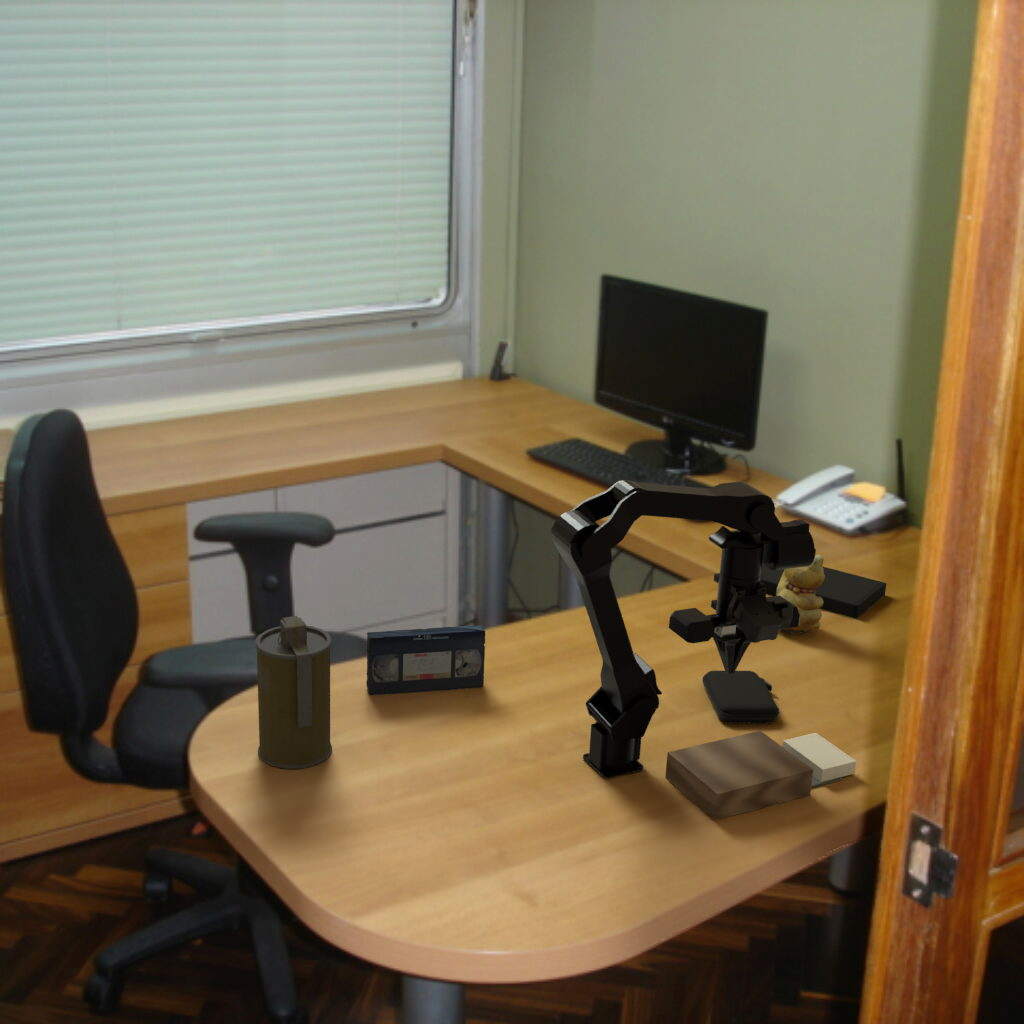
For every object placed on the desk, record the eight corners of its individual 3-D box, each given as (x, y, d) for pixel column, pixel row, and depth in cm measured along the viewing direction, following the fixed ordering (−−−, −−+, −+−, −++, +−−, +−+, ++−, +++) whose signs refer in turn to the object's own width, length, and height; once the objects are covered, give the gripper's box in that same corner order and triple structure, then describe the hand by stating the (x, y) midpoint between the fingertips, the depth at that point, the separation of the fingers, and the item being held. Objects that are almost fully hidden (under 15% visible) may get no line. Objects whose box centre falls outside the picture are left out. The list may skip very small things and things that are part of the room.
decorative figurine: (828, 634, 241) (839, 554, 236) (795, 644, 237) (805, 563, 232) (789, 614, 249) (798, 537, 244) (756, 623, 244) (764, 545, 239)
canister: (250, 739, 198) (247, 612, 191) (320, 728, 202) (319, 603, 195) (268, 776, 189) (265, 644, 182) (341, 764, 193) (341, 634, 186)
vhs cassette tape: (367, 696, 212) (368, 637, 209) (365, 687, 215) (366, 629, 212) (484, 689, 216) (486, 632, 213) (481, 681, 219) (483, 624, 216)
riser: (714, 820, 183) (717, 794, 182) (665, 777, 193) (667, 752, 192) (810, 795, 190) (813, 769, 189) (757, 754, 200) (760, 730, 199)
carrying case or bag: (787, 728, 209) (763, 683, 223) (790, 710, 208) (765, 666, 222) (719, 727, 208) (699, 683, 222) (720, 709, 207) (700, 666, 221)
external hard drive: (856, 621, 248) (858, 605, 247) (740, 588, 261) (741, 573, 260) (884, 597, 260) (886, 582, 259) (772, 567, 272) (773, 553, 271)
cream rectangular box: (856, 761, 195) (854, 773, 195) (815, 732, 202) (814, 744, 203) (823, 769, 192) (821, 782, 193) (783, 740, 200) (781, 752, 200)
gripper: (714, 602, 182) (703, 707, 187) (829, 585, 190) (816, 687, 195) (671, 572, 192) (662, 673, 197) (783, 557, 199) (771, 655, 204)
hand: (729, 672), depth 198 cm, fingers closed
